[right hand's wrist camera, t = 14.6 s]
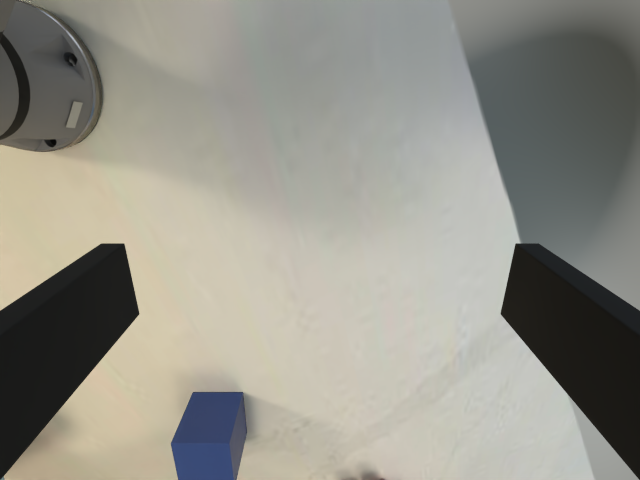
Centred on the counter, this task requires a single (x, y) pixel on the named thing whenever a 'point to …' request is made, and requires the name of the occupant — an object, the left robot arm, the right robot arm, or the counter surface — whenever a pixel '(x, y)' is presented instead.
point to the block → (210, 437)
